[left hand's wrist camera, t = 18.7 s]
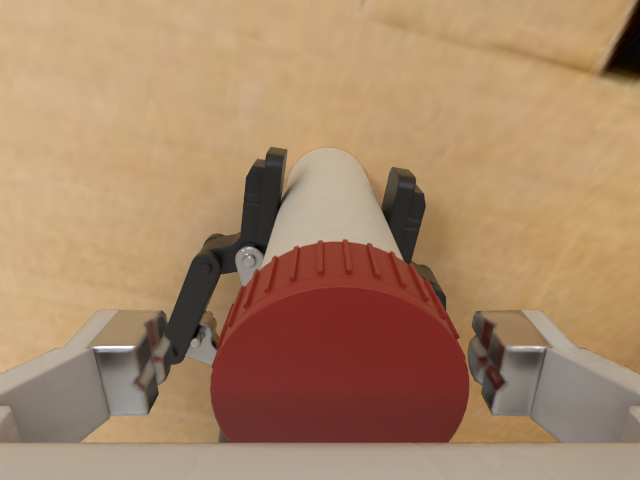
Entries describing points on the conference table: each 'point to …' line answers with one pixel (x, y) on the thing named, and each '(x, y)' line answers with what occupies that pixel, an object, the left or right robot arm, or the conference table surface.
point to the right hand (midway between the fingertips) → (340, 163)
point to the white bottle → (328, 206)
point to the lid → (338, 353)
